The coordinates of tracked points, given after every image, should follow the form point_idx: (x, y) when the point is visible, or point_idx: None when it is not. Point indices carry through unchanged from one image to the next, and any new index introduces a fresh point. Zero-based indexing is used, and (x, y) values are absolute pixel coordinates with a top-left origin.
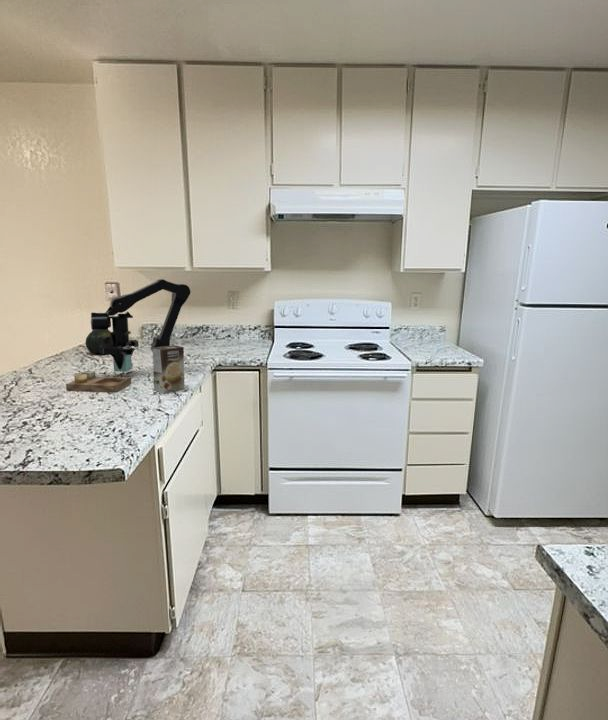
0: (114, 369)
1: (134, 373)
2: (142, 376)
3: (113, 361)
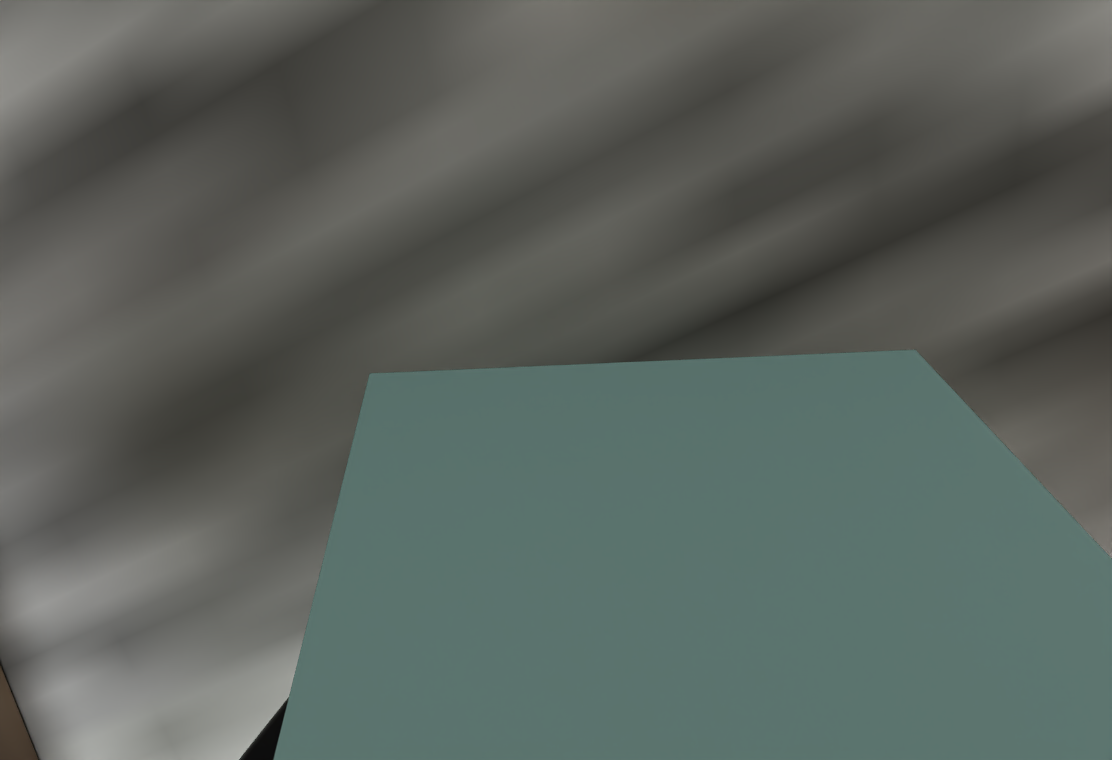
0: (368, 433)
1: (1109, 474)
2: None
3: (284, 735)
